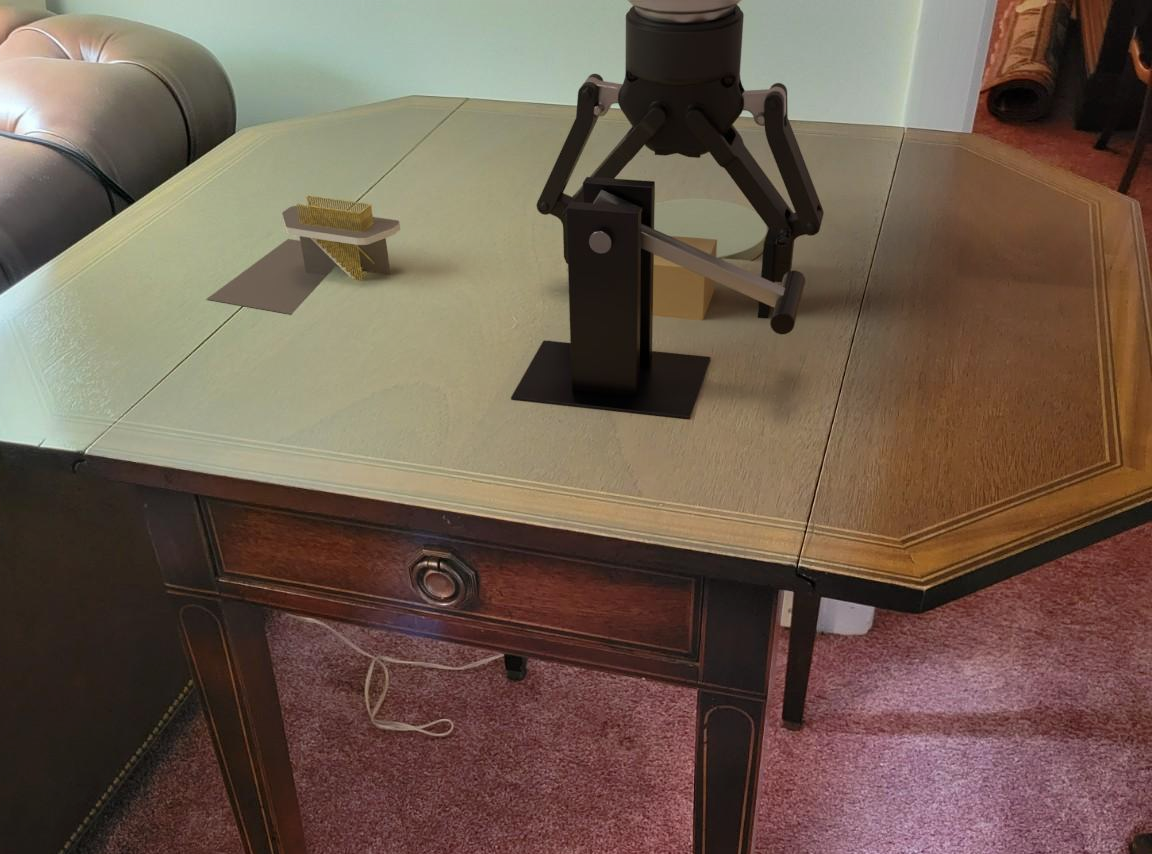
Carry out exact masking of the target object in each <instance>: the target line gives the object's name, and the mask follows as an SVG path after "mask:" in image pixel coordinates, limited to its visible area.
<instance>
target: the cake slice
mask: <svg viewBox="0 0 1152 854" xmlns="http://www.w3.org/2000/svg"><path fill="white" fill-rule="evenodd" d="M670 237H673V238H675V239H677V240H679V241H681V242H684V243H686V244H688V245H690V246H693V247H695V248H697V249H699V250H702V251H704V252H706V253H708V254H711V255H713V256H715V257H716V251H717V240H716V239H704V238H691V237H678V236H670ZM715 287H716V282H715V281H713V280H711V279H709V278H707V277H704V276H702V275H700V274H698V273H695V272H693V271H691V270H689V269H686V268H684V267H682V266H680V265H677V264H675V263H673V262H671V261H668V260H666V259H664V258H662V257H660V256H657V255H655V254H654V270H653V317H663V318H673V319H684V320H694V321H695V320H696V321H704V319H705V317H706V313H707V311H708V308H709V306H710V302H711V300H712V298H713V295H714V292H715Z"/></svg>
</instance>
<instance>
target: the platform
mask: <svg viewBox="0 0 1152 854" xmlns="http://www.w3.org/2000/svg"><path fill="white" fill-rule="evenodd" d="M305 198H306V200H307V204H304V203H296V205H292V206H289V207H288V208H286V209H285V210H283V211H282V212H281V215H282V218H283V219H282V220H283V224H284V227H285V230H286V231H285V232H286V234H288V235H290V236H296V237H299V239H293V238H287V239H286V240H285V241H282V243H280V244H279V245H278V246H276V247H275V248H273V249H272V250H271V251H270V252H268V253H267V254H265V255H264V256H263V257H261V258H260V259H259V260H257V261H256V262H255V263H253V264H252V265H251V266H249V267H248V268H247V269H245V270H244V271H242V272H241V273H240V274H238V275H237V276H236V277H234V278H233V279H232V280H230V281H229V282H227V283H226V284H224V285H223V286H221V288H219V289H218V290H216V291H215V292H213V293H212V294H211V295H210V296H208V297H207V298H206V300H207V301H208V300H209V301H214V302H219V303H226V304H231V305H237V306H243V307H248V308H255V309H259V310H265V311H271V312H277V313H282V314H288V315H293V314H294V313H295V311H297V310H298V308H299V307H301V305H302V304H303V303H304V302H305V301H306V300H307V299H308V297H309V296H310V295H311V294H312V293H313V292H314V291H315V290H316V289H317V287H318V286H319V285H320V284H322V282H323V281H324V280H325V279H326V278H327V277H328V276H329V274H331V272H332V271H333V270H334V269H335V268H337V267H338V268H340V269H341V270H342V271H343V272H344V273H345V274H346V275H347V277H349V278H353V280H355V281H362V282H363V281H364V278H363V277H364V276H365V275H367V273H375V274H381V275H382V274H383V275H388V276H390V275H391V269H390V268H391V266H390V260H389V252H388V244H387V238H390V237H392V236H395V235H396V234H397V233H398V232H399V231H400V230H401V224H400V221H399V220H397V219H391V218H384V217H378V216H374V215H373V210H372V209H373V208H372V205H373V204H372V203H366V202H359V201H351V200H344V199H338V198H330V197H323V196H316V195H309V194H308V195H306V196H305Z"/></svg>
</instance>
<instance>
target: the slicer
mask: <svg viewBox="0 0 1152 854" xmlns="http://www.w3.org/2000/svg"><path fill="white" fill-rule="evenodd" d="M582 185H583V203H581V202H570V203H569V205H568V206H567V208H566V217H567V249H568V264H567V275H568V276H567V277H568V278H567V279H568V305H569V306H568V310H569V338H570V339H569V341H570V342H566V341H565V342H564V341H554V340H545V339H544V340H542V342H541V344H540V345H539V347H538V348H537V351H536V353H534V356H533V358H532V360H531V362H530V363H529V365H528V367H527V368H526V371H525V372H524V373H523V375H522V377H521V379H520V381H519V382H518V384H517V385H516V387H515V389H514V392H513V393H512V395H511V396H510V400H511V401H518V402H524V403H525V402H527V403H535V404H545V405H551V406H552V405H554V406H563V407H569V408H570V407H571V408H580V409H589V410H598V411H606V412H607V411H608V412H616V413H625V414H635V415H643V416H652V417H660V418H668V419H669V418H670V419H680V420H690V419H691V417H692V413H693V411H694V409H695V405H696V402H697V399H698V396H699V394H700V391H701V388H702V384H703V382H704V379H705V377H706V373H707V370H708V368H709V365H710V362H711V358H712V357H711V356H707V355H706V356H705V355H698V354H697V355H696V354H686V353H676V352H665V351H656V350H655V351H654V350H653V326H654V325H653V324H654V323H653V321H654V316H653V270H654V254H653V253H651V252H648V251H646V250H644V249H642V248H641V224H643V225H646V226H648V227H650V228H652V229H654V210H655V203H656V200H655V199H656V182H655V181H654V180H641V179H639V180H638V179H627V178H626V179H625V178H614V179H612V178H597V177H590V176H586V177H585V179H584V180H583V182H582ZM601 190H603V191H606V192H608V193H610V194H612V195H615V196H617V197H619V198H621V199H624V200H626V201H628V202H630V203H633V204H635V205H637V206H639V207H637V206H623V205H609V204H595V203H594V201H595V199H596V198H597V196H598V194H599V193H600V191H601ZM641 208H642V211H641Z"/></svg>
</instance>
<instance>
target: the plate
mask: <svg viewBox="0 0 1152 854" xmlns="http://www.w3.org/2000/svg"><path fill="white" fill-rule="evenodd" d="M654 229H655V230H657V231H659V232H661V233H664V234H666V235H668V236H678V237H691V238H704V239H716V240H717V251H716V257H717V258H719V259H722V260H724V259H725V260H737V261H749V262H752V261H753V260H756V258H758V257H759V256H760V255H761V254H763V247H764V241H765V238H766V235H767V232H768V229H769V228H768V227H767V225H766V224H765V223H764V221H763V220H762V218H761V217H760V216H759V214H758V213H757V212H756V211H755V210H754V209H753V210H752V209H750V208H749V207H746V206H743V205H741V204H738V203H735V202H730V201H725V200H720V199H710V198H677V199H670V200H664V201H660V202H655V210H654Z"/></svg>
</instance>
